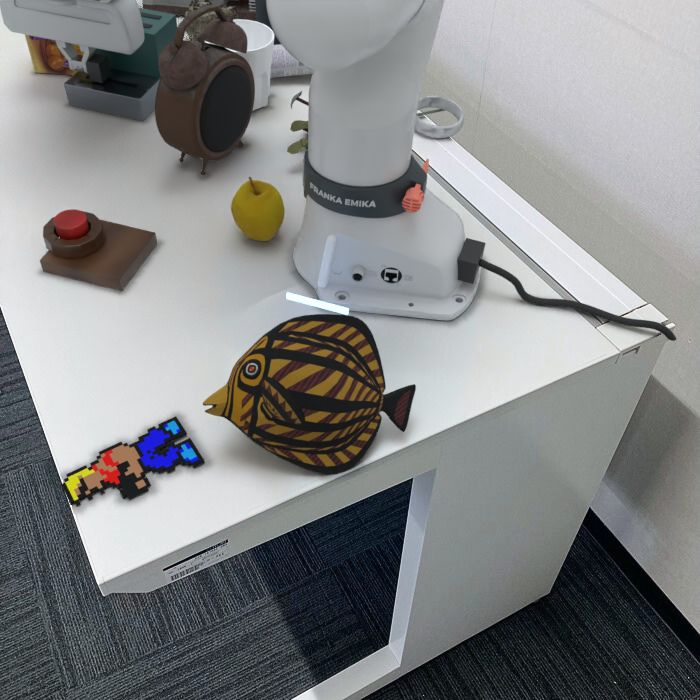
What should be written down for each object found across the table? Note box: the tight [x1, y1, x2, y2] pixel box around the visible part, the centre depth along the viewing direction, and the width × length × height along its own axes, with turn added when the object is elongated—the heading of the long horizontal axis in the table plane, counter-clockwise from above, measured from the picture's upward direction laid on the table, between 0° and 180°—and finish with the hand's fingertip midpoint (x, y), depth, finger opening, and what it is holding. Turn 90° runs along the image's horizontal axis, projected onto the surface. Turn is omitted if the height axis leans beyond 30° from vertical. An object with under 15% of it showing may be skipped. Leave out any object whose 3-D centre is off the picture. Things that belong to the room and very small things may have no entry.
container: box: [270, 44, 315, 79], centre depth 120 cm, size 5×5×15 cm
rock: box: [183, 0, 238, 41], centre depth 129 cm, size 6×9×10 cm
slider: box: [86, 53, 111, 83], centre depth 111 cm, size 2×3×3 cm
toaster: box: [63, 7, 178, 122], centre depth 113 cm, size 12×14×10 cm
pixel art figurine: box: [60, 416, 205, 507], centre depth 71 cm, size 6×1×12 cm
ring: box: [414, 95, 465, 139], centre depth 113 cm, size 8×8×2 cm
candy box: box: [24, 34, 84, 76], centre depth 115 cm, size 9×4×15 cm, turn 86°
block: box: [39, 210, 158, 292], centre depth 90 cm, size 11×9×4 cm
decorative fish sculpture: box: [202, 313, 417, 475], centre depth 73 cm, size 14×16×12 cm
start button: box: [54, 208, 89, 240], centre depth 88 cm, size 4×4×2 cm
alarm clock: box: [154, 5, 255, 177], centre depth 99 cm, size 15×7×20 cm, turn 150°
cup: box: [204, 19, 274, 112], centre depth 113 cm, size 10×10×10 cm
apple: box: [230, 176, 286, 242], centre depth 92 cm, size 6×6×8 cm
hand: (82, 70), depth 111 cm, fingers closed
